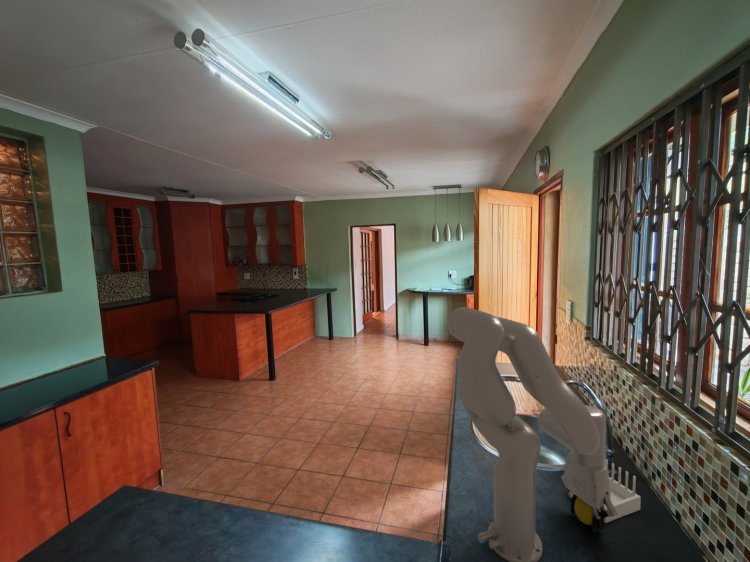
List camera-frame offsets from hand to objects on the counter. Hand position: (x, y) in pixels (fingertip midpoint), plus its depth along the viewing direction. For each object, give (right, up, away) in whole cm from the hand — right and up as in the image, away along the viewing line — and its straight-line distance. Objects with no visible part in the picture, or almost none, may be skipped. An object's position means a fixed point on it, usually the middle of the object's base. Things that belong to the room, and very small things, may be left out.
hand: (586, 520), depth 88 cm
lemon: (0, -1, 0) cm, 1 cm away
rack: (+10, 0, +8) cm, 12 cm away
